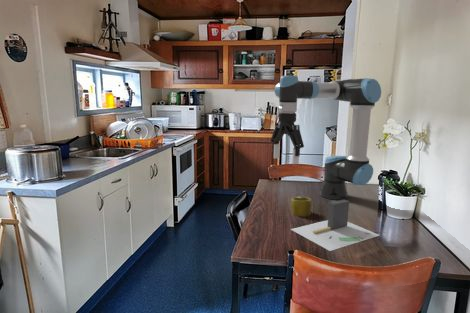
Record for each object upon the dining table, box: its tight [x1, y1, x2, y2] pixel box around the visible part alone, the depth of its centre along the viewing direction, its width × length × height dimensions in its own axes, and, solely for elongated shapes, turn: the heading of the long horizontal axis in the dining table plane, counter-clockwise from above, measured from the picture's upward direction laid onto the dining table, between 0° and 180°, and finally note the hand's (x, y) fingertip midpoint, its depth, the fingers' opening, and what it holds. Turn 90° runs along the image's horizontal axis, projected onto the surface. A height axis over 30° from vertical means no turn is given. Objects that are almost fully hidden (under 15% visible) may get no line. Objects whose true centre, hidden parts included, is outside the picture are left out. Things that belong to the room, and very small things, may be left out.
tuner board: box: [290, 219, 381, 252], centre depth 133 cm, size 28×22×1 cm
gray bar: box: [313, 199, 350, 233], centre depth 135 cm, size 18×3×11 cm, turn 120°
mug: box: [290, 196, 312, 217], centre depth 155 cm, size 12×10×10 cm
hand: (285, 160), depth 144 cm, fingers open, 13 cm apart
